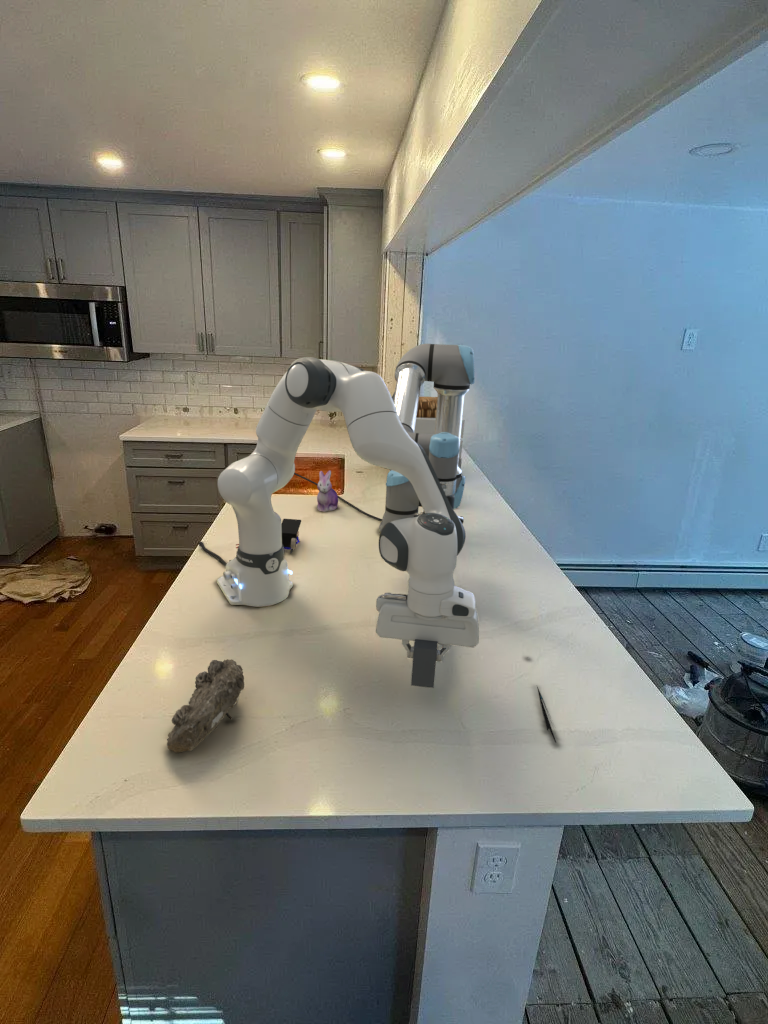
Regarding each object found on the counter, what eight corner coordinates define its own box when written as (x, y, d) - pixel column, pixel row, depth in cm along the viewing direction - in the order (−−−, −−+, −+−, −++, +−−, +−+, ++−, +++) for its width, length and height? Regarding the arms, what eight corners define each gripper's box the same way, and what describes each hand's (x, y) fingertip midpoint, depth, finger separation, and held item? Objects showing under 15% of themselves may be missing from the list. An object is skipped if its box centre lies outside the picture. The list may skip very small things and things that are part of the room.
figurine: (320, 513, 215) (320, 475, 210) (311, 505, 224) (311, 468, 219) (343, 510, 219) (344, 473, 214) (333, 502, 228) (333, 466, 223)
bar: (426, 567, 162) (429, 539, 159) (442, 569, 162) (444, 541, 159) (410, 685, 111) (413, 647, 108) (433, 688, 110) (437, 650, 107)
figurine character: (297, 560, 179) (302, 537, 192) (296, 539, 175) (302, 517, 189) (275, 559, 178) (282, 536, 192) (274, 538, 175) (281, 516, 189)
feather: (528, 662, 131) (533, 656, 131) (556, 747, 105) (562, 740, 104) (522, 659, 131) (527, 652, 130) (548, 742, 104) (555, 735, 104)
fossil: (192, 660, 117) (244, 628, 112) (224, 691, 120) (276, 661, 115) (142, 746, 98) (202, 712, 93) (182, 779, 101) (242, 748, 96)
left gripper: (374, 599, 107) (371, 661, 112) (483, 610, 105) (475, 673, 110) (378, 584, 113) (376, 643, 118) (482, 594, 111) (475, 654, 116)
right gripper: (406, 495, 147) (401, 576, 155) (474, 500, 145) (466, 582, 153) (408, 486, 154) (404, 564, 162) (473, 491, 152) (465, 570, 160)
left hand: (425, 658), depth 114 cm, fingers closed on bar, 4 cm apart
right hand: (434, 573), depth 157 cm, fingers closed on bar, 4 cm apart
